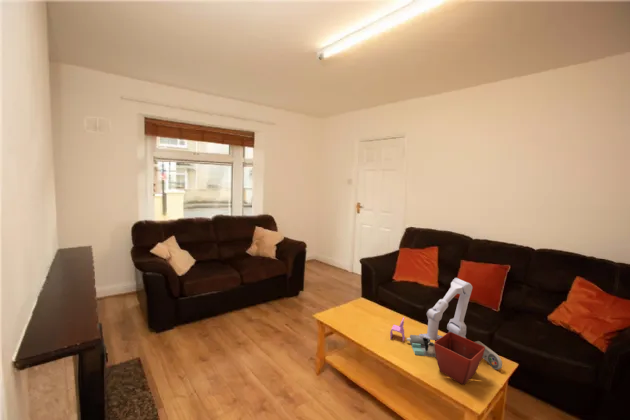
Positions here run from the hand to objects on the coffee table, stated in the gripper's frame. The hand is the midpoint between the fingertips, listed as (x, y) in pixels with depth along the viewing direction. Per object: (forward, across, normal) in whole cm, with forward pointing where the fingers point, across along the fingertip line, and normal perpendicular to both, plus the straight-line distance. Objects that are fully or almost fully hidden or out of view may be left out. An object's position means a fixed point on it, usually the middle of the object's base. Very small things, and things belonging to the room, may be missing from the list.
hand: (430, 350), depth 169 cm
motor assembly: (+2, +4, -4) cm, 6 cm away
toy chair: (+2, +17, -13) cm, 22 cm away
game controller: (+3, -31, +2) cm, 31 cm away
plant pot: (+2, -9, +16) cm, 18 cm away
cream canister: (+1, 0, 0) cm, 1 cm away
